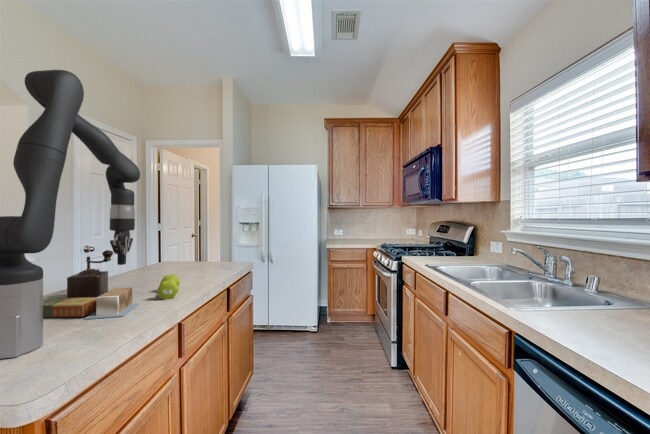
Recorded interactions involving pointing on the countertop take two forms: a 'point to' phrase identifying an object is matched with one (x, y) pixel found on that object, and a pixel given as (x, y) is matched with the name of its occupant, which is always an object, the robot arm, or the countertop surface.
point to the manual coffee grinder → (89, 280)
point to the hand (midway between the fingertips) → (121, 264)
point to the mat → (121, 314)
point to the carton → (69, 307)
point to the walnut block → (113, 301)
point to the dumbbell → (168, 287)
